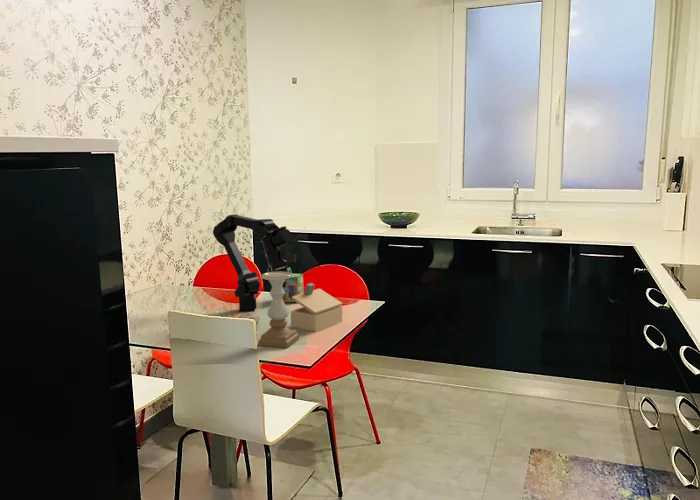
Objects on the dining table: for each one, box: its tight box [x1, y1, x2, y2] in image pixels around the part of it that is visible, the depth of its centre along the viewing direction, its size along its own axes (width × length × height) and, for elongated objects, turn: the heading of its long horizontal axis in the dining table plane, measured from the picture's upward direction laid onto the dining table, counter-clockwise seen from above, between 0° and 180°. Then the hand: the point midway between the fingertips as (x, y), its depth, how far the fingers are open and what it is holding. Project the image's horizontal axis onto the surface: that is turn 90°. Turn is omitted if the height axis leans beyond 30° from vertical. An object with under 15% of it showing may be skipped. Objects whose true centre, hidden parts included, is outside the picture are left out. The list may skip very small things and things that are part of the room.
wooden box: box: [290, 305, 343, 333], centre depth 217 cm, size 12×16×6 cm
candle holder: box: [257, 271, 300, 349], centre depth 194 cm, size 11×11×24 cm
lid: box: [292, 282, 343, 315], centre depth 215 cm, size 12×16×5 cm
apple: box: [237, 312, 260, 326], centre depth 210 cm, size 8×8×7 cm
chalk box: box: [282, 267, 305, 304], centre depth 253 cm, size 9×9×15 cm
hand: (283, 287), depth 225 cm, fingers open, 9 cm apart
